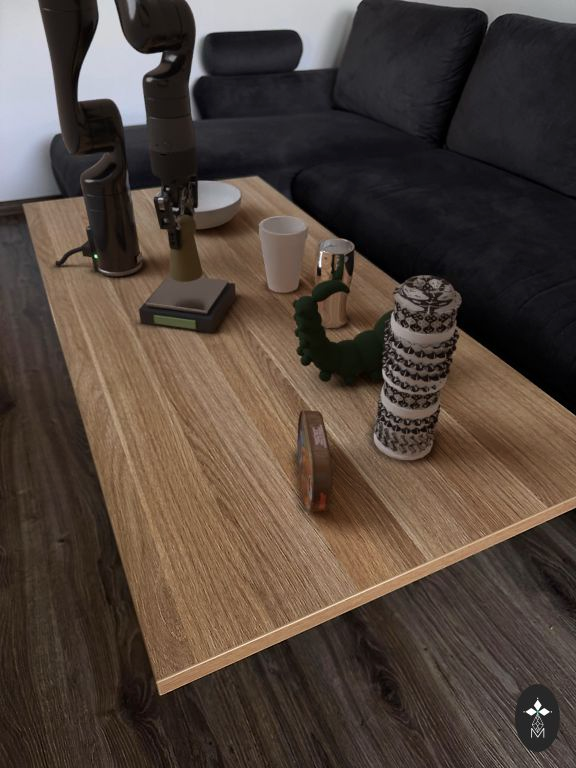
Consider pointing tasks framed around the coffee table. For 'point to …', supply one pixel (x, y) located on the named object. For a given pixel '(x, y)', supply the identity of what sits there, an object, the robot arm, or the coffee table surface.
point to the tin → (314, 461)
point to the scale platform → (188, 295)
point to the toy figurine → (345, 354)
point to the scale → (189, 314)
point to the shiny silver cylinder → (334, 277)
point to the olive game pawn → (186, 254)
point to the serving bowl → (215, 204)
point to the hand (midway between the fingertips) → (182, 241)
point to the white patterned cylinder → (415, 365)
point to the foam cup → (283, 251)
